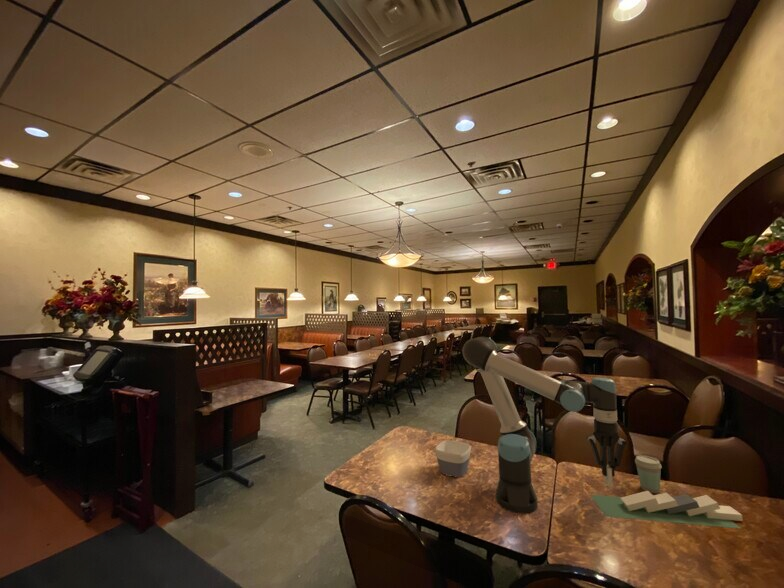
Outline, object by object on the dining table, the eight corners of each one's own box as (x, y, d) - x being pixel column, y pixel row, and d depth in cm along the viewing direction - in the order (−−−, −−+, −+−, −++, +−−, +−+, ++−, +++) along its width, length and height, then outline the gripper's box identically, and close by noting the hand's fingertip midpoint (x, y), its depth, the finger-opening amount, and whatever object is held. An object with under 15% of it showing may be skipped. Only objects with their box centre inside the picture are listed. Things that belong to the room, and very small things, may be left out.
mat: (605, 517, 112) (605, 516, 112) (589, 495, 126) (589, 494, 126) (741, 529, 104) (741, 528, 104) (709, 505, 118) (708, 503, 118)
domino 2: (645, 507, 114) (675, 500, 112) (637, 499, 119) (666, 492, 117) (648, 512, 114) (678, 506, 112) (640, 504, 119) (668, 498, 117)
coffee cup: (669, 496, 124) (666, 464, 125) (644, 495, 125) (641, 463, 126) (655, 485, 132) (653, 455, 133) (632, 483, 134) (630, 454, 135)
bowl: (475, 468, 151) (474, 444, 152) (464, 483, 138) (463, 456, 139) (445, 461, 159) (444, 438, 160) (431, 474, 146) (431, 449, 147)
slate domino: (666, 508, 113) (696, 501, 111) (657, 500, 118) (686, 493, 116) (669, 514, 112) (699, 507, 111) (660, 506, 117) (689, 499, 116)
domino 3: (686, 510, 111) (717, 502, 110) (677, 502, 116) (706, 494, 115) (689, 516, 111) (720, 508, 109) (679, 507, 116) (709, 500, 114)
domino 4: (707, 511, 110) (742, 514, 108) (696, 503, 115) (729, 506, 113) (707, 518, 110) (742, 521, 108) (697, 509, 115) (730, 512, 113)
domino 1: (626, 505, 115) (655, 498, 114) (620, 497, 120) (647, 490, 118) (629, 511, 115) (658, 503, 113) (622, 503, 120) (650, 496, 118)
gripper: (590, 422, 118) (593, 488, 117) (630, 424, 116) (633, 491, 114) (582, 416, 126) (585, 477, 124) (619, 417, 123) (622, 481, 122)
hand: (608, 484), depth 119 cm, fingers closed
